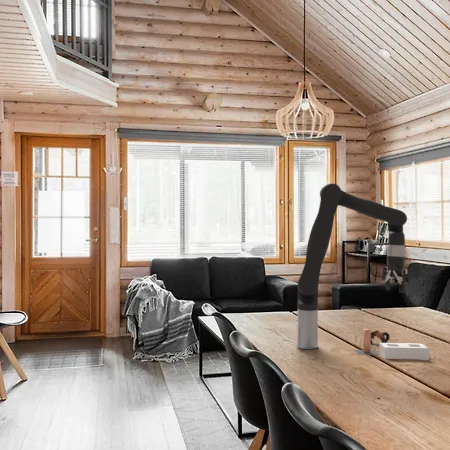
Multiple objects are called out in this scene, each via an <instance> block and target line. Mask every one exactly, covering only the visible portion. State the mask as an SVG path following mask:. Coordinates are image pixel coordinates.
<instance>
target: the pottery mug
mask: <svg viewBox="0 0 450 450" xmlns="http://www.w3.org/2000/svg"><path fill="white" fill-rule="evenodd" d="M375 337H377V339H380V341H381V342H380V343H388V342H389V341H390V337H391V336H390V334H389V333H388V332H387V331H384V332H379V329H377V330H374V331H372V332H371V344H373V340H374V339H375Z"/></svg>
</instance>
